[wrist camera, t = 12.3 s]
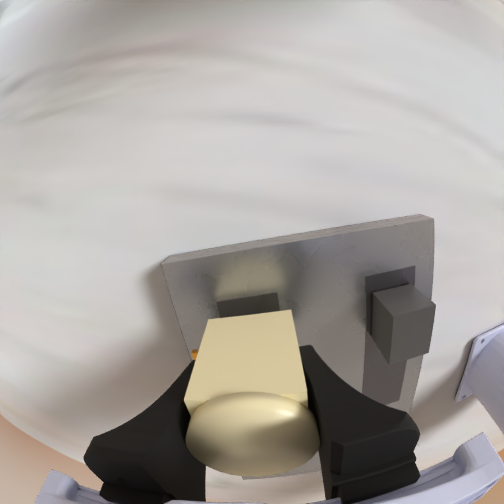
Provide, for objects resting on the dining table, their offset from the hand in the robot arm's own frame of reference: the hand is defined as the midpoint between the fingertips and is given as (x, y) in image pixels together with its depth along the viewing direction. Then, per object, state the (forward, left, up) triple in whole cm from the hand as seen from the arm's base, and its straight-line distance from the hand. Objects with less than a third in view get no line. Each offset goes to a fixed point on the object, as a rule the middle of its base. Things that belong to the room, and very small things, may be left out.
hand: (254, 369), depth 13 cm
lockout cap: (0, 0, -2) cm, 2 cm away
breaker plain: (-8, 0, -3) cm, 8 cm away
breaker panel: (-3, +6, -4) cm, 8 cm away
